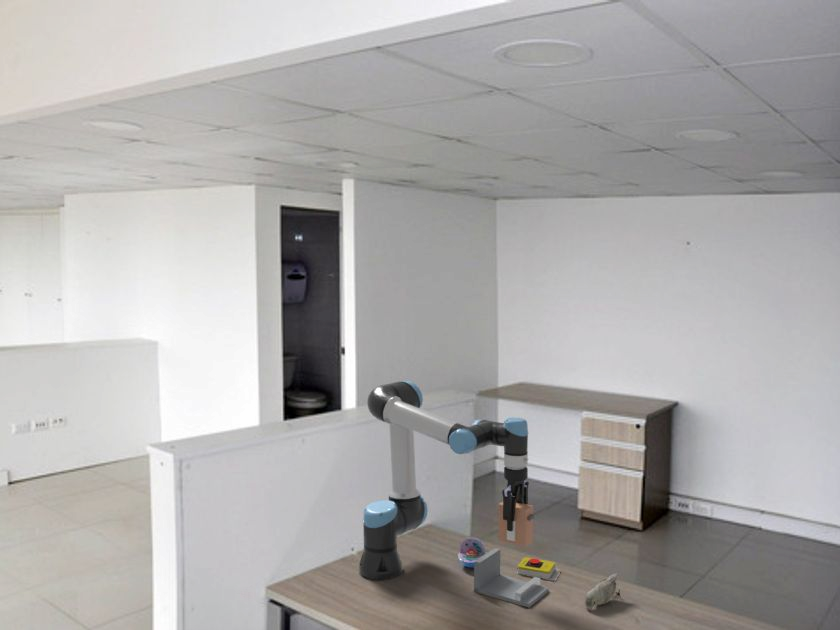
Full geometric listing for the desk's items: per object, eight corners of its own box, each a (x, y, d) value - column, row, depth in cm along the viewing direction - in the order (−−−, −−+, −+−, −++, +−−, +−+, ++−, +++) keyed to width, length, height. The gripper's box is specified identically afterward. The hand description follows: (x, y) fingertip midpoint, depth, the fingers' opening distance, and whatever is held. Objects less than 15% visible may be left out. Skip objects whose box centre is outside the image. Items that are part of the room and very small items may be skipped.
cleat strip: (514, 599, 231) (514, 592, 231) (534, 583, 242) (534, 576, 242) (520, 601, 230) (520, 593, 230) (540, 585, 241) (540, 578, 241)
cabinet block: (498, 540, 237) (498, 503, 236) (505, 535, 241) (506, 499, 240) (527, 547, 231) (528, 510, 230) (535, 542, 235) (535, 506, 234)
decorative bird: (580, 609, 228) (580, 585, 227) (608, 593, 238) (609, 571, 238) (595, 615, 224) (595, 591, 223) (623, 598, 235) (623, 576, 234)
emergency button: (520, 552, 262) (562, 559, 255) (520, 564, 262) (561, 571, 256) (512, 562, 253) (555, 569, 247) (512, 574, 253) (555, 582, 247)
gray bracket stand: (473, 591, 240) (474, 561, 239) (494, 576, 251) (495, 547, 250) (529, 607, 228) (529, 576, 227) (548, 591, 239) (548, 561, 239)
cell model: (454, 571, 255) (454, 544, 255) (462, 557, 267) (462, 532, 266) (482, 574, 253) (482, 547, 252) (489, 561, 264) (489, 535, 263)
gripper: (512, 475, 225) (512, 548, 227) (539, 462, 240) (538, 531, 241) (491, 471, 230) (491, 543, 231) (519, 458, 244) (518, 526, 246)
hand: (515, 537), depth 236 cm, fingers closed on cabinet block, 5 cm apart
